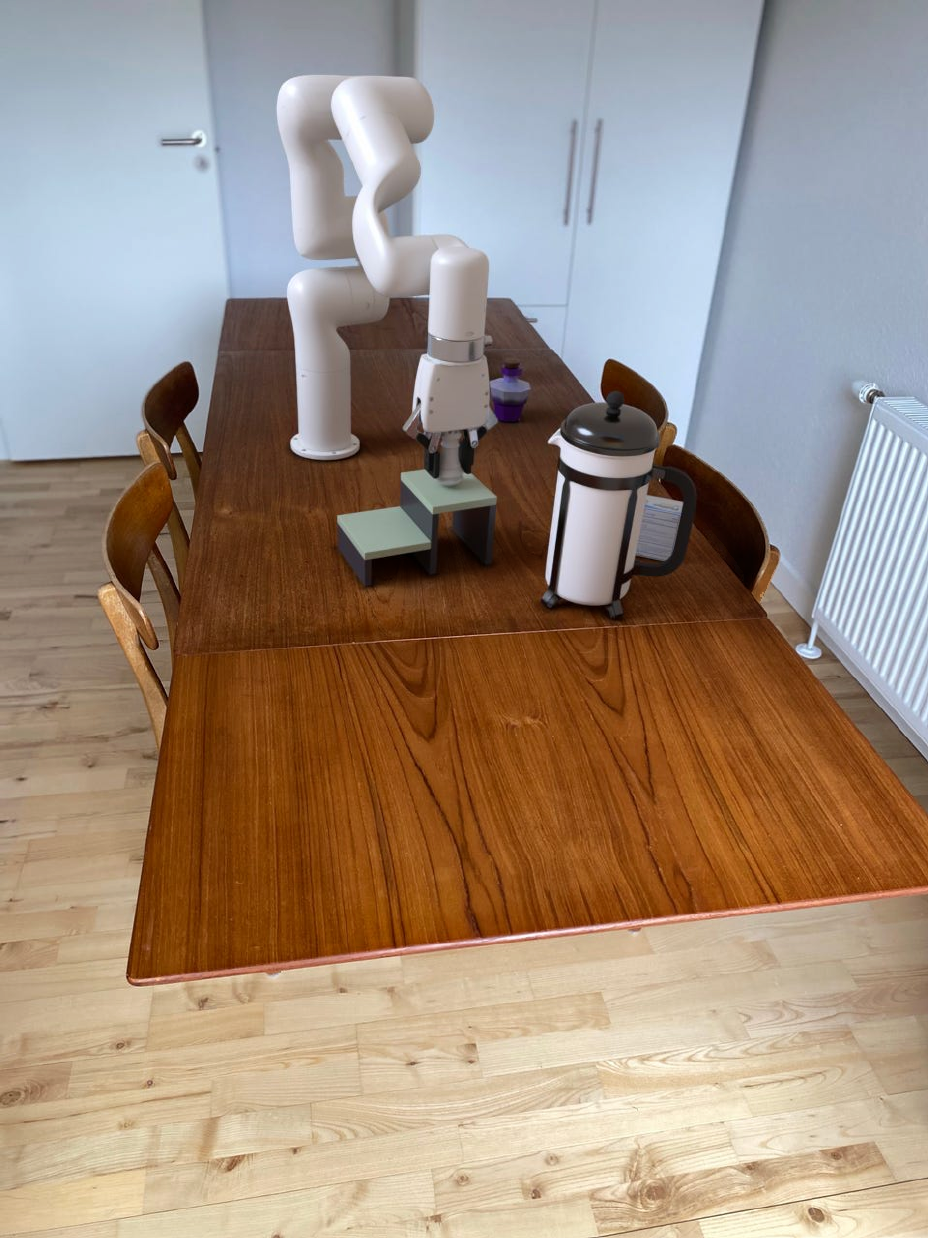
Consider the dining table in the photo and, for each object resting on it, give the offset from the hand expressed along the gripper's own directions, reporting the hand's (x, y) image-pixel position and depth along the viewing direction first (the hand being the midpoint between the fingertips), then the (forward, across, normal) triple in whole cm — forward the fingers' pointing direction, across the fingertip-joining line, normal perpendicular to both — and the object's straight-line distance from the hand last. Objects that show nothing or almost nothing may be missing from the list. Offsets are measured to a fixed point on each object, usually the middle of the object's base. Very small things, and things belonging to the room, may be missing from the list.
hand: (448, 471), depth 134 cm
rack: (+13, +5, 0) cm, 14 cm away
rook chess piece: (+2, 0, 0) cm, 2 cm away
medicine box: (+13, -30, +11) cm, 35 cm away
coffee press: (+13, -15, +19) cm, 28 cm away
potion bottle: (+13, -35, -47) cm, 60 cm away
